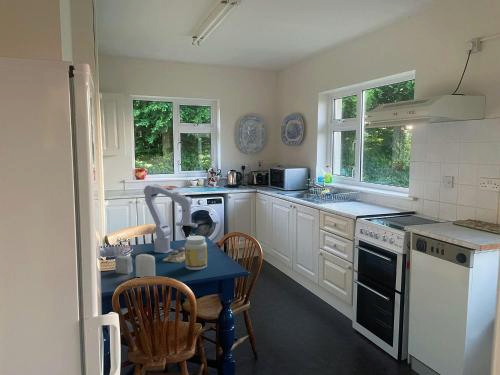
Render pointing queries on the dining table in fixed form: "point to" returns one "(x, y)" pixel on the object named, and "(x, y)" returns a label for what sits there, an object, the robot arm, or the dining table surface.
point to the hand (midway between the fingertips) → (187, 237)
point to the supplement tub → (195, 253)
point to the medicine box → (123, 264)
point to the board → (176, 257)
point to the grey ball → (181, 249)
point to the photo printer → (145, 265)
